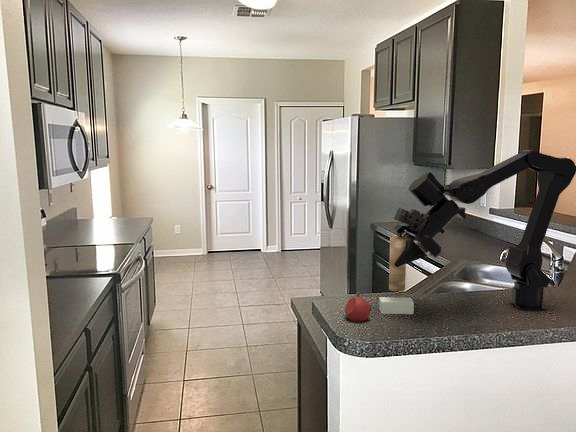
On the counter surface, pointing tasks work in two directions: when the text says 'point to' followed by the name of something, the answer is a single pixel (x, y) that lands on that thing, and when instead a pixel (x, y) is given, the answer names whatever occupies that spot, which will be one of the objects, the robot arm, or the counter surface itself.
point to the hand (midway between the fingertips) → (392, 263)
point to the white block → (396, 305)
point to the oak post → (395, 273)
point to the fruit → (357, 309)
